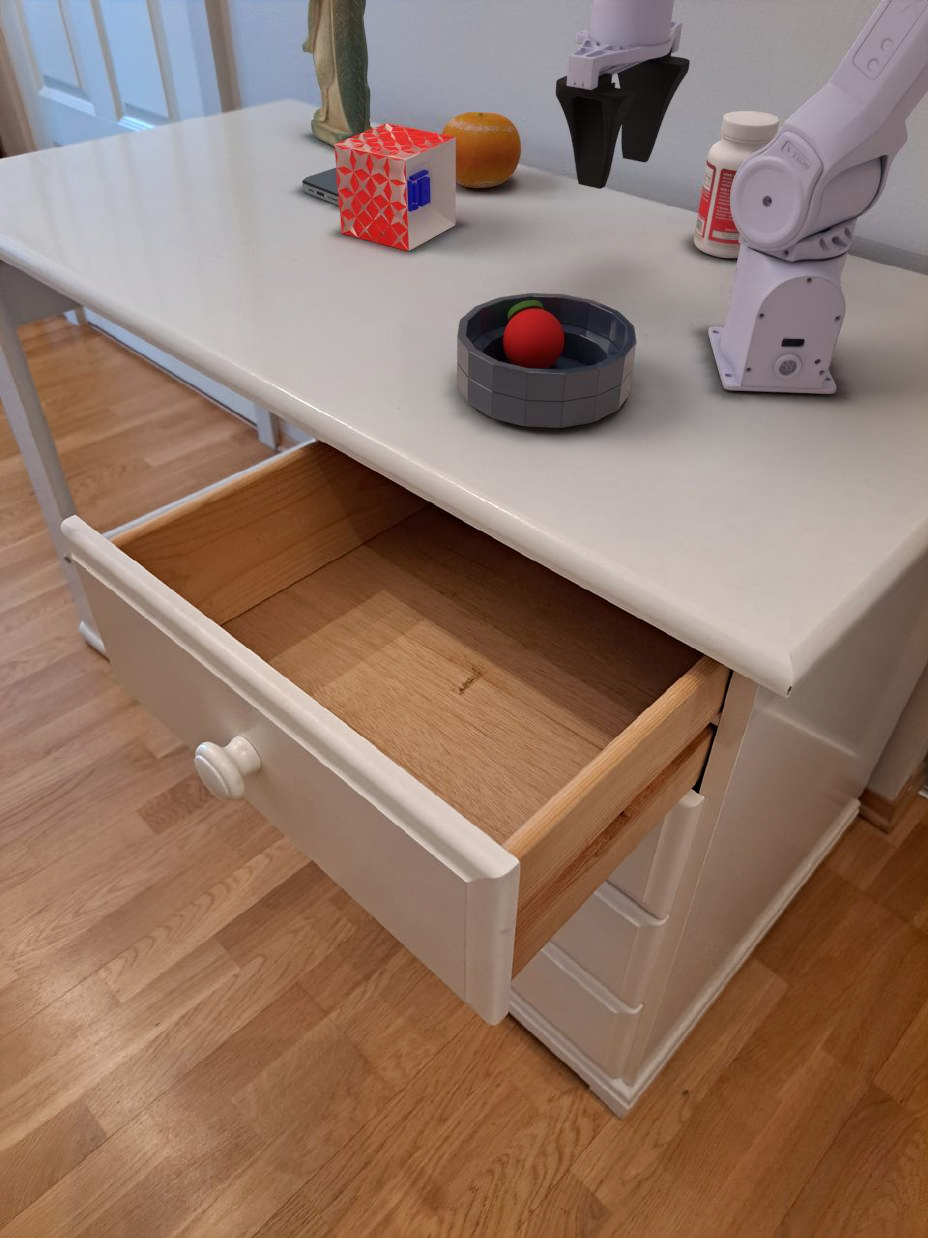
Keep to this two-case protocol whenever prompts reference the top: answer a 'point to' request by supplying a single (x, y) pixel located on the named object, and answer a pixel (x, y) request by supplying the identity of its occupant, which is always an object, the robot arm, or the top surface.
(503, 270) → the top surface
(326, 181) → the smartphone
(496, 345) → the bowl
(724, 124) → the pill bottle
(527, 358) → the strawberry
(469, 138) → the fruit
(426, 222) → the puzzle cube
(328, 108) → the statue
